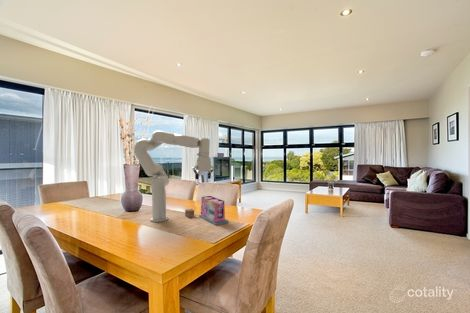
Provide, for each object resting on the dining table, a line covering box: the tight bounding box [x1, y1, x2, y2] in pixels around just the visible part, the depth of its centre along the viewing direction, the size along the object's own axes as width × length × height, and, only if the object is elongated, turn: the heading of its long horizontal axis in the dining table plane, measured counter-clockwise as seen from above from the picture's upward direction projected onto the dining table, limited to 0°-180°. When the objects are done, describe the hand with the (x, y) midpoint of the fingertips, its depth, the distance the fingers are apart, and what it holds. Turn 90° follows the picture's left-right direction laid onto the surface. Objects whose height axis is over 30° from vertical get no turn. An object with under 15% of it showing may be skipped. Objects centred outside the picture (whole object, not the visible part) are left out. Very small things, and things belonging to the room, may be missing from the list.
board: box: [198, 214, 229, 226], centre depth 165 cm, size 24×10×2 cm, turn 36°
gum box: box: [201, 195, 226, 222], centre depth 165 cm, size 24×8×14 cm, turn 32°
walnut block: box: [184, 208, 195, 219], centre depth 174 cm, size 5×5×5 cm
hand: (203, 178), depth 166 cm, fingers open, 9 cm apart
